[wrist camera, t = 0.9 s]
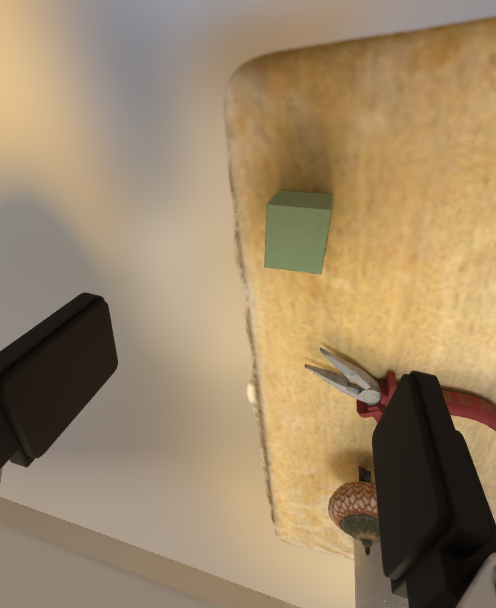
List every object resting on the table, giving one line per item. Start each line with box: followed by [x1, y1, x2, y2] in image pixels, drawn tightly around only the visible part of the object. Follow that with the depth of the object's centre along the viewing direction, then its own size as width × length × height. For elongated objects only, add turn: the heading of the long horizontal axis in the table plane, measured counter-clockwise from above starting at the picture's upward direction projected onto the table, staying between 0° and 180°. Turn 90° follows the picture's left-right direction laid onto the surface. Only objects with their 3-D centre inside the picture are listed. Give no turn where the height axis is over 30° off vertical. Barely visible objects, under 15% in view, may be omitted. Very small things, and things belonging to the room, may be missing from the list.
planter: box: [354, 538, 409, 608], centre depth 40 cm, size 16×16×16 cm
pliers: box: [305, 348, 496, 431], centre depth 33 cm, size 12×20×3 cm, turn 63°
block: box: [264, 190, 334, 274], centre depth 25 cm, size 4×5×4 cm
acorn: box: [328, 466, 380, 556], centre depth 38 cm, size 8×8×10 cm
